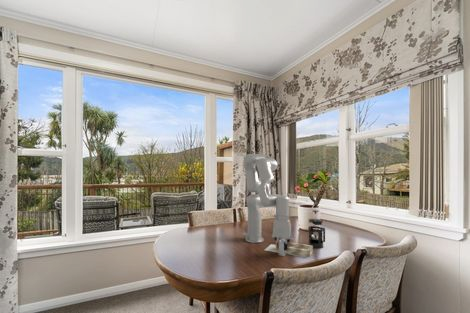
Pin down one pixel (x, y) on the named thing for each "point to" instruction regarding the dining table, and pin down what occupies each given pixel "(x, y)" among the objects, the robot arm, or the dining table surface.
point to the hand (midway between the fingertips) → (282, 249)
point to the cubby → (300, 249)
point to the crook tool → (281, 247)
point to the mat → (273, 249)
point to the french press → (315, 243)
